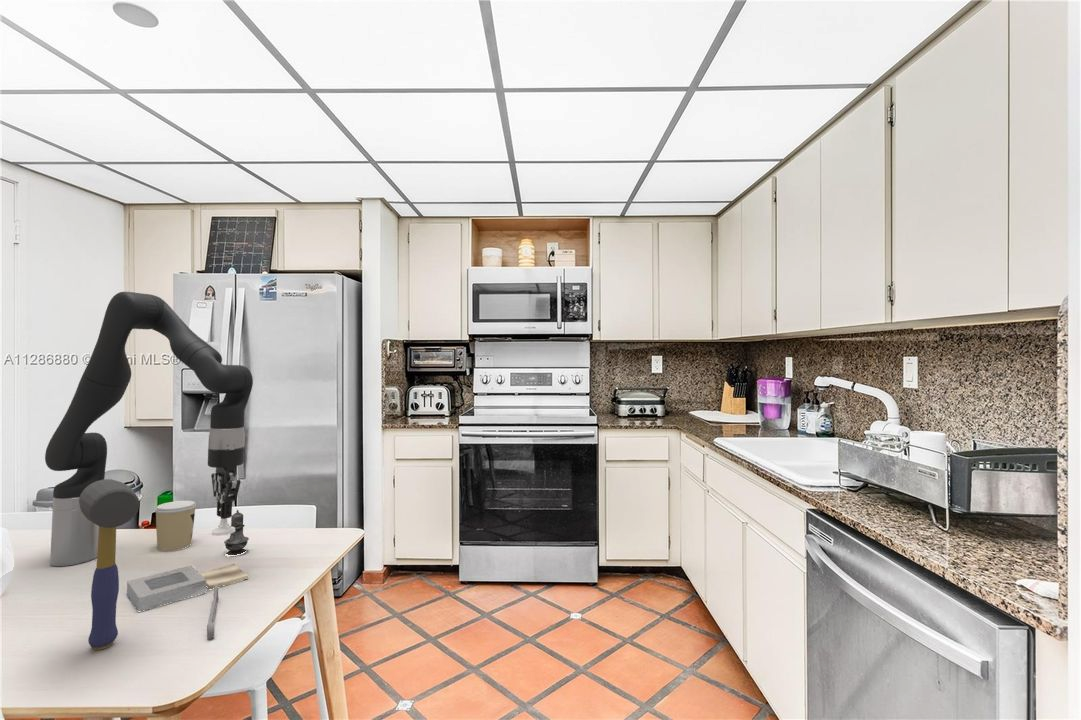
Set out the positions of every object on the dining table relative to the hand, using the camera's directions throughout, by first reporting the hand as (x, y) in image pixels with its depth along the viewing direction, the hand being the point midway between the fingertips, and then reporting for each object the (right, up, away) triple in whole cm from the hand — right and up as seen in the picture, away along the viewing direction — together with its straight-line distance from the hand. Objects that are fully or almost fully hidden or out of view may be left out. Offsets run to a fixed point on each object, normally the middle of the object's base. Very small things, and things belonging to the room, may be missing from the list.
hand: (224, 516), depth 118 cm
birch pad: (0, -15, 0) cm, 15 cm away
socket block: (-7, -15, -9) cm, 19 cm away
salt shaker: (-7, -16, +16) cm, 23 cm away
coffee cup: (-27, -15, +20) cm, 37 cm away
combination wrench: (+10, -15, -19) cm, 26 cm away
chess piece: (0, -4, 0) cm, 4 cm away
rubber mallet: (-3, -14, -30) cm, 33 cm away
